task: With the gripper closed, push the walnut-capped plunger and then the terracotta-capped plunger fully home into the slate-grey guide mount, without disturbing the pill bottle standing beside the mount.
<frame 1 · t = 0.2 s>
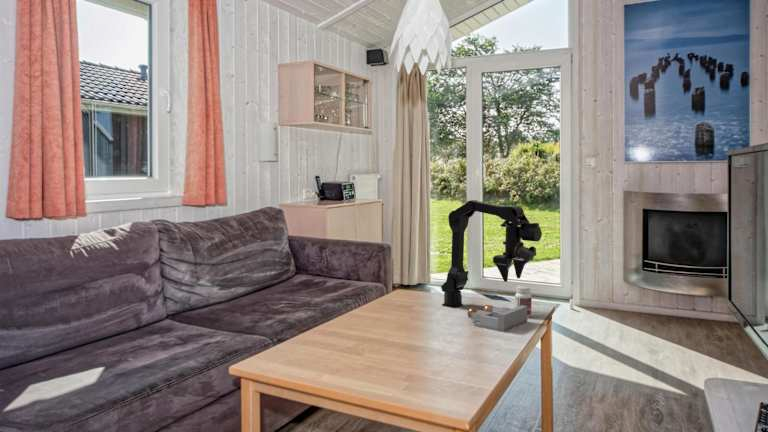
hand: (512, 279, 213), 14 cm above the table, fingers open, 9 cm apart
knob far: (495, 311, 210), point 3 cm above the table, slide at 4.0 cm
pill bottle: (522, 316, 216), on the table
knob near: (479, 314, 206), point 3 cm above the table, slide at 6.0 cm
mount: (500, 324, 205), on the table
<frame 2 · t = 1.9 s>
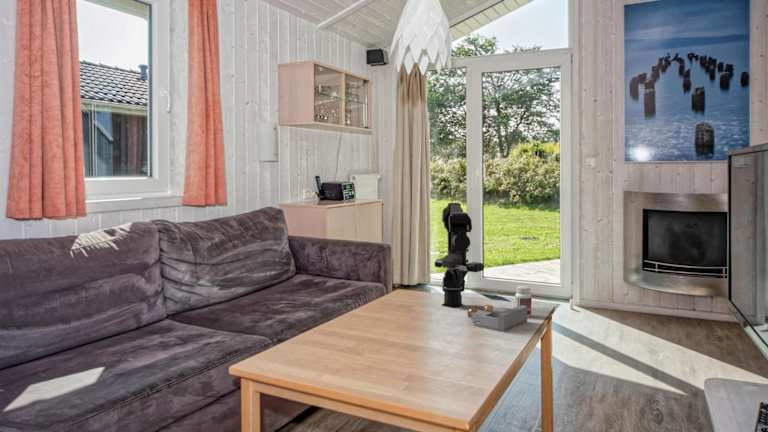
hand: (458, 287, 211), 12 cm above the table, fingers closed
nothing on the table moved.
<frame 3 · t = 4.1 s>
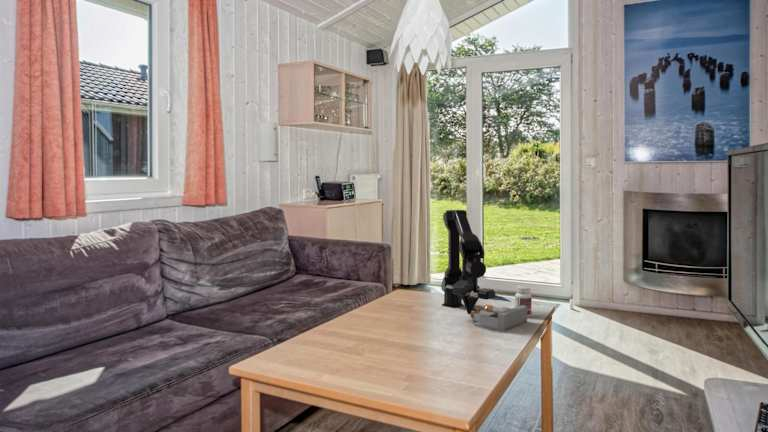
hand: (469, 314, 209), 3 cm above the table, fingers closed
knob near: (482, 315, 205), point 3 cm above the table, slide at 4.8 cm, touching gripper
everything else where it was.
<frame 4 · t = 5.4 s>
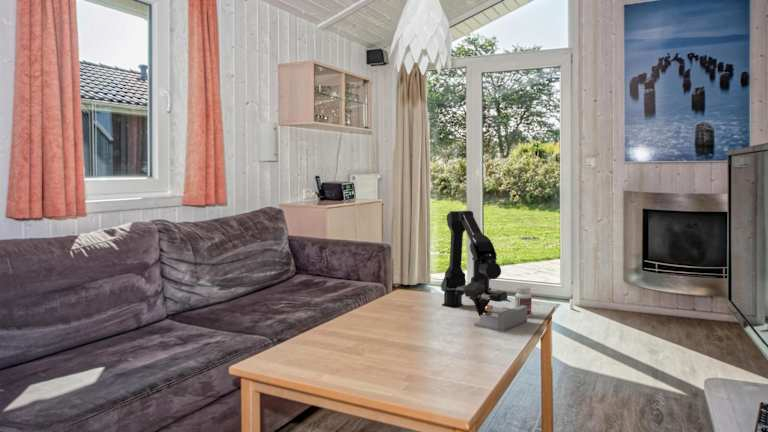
hand: (480, 316, 205), 3 cm above the table, fingers closed
knob near: (494, 317, 202), point 3 cm above the table, slide at 0.0 cm, touching gripper
everything else where it was.
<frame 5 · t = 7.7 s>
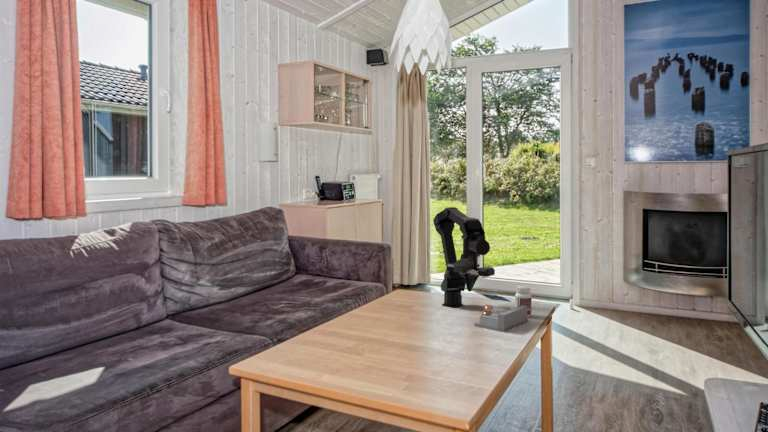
hand: (469, 291, 218), 9 cm above the table, fingers closed
knob near: (494, 317, 202), point 3 cm above the table, slide at 0.0 cm
everything else where it was.
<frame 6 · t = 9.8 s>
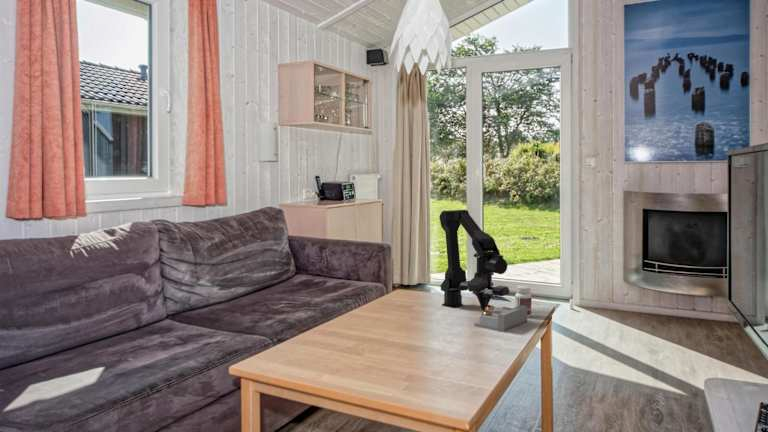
hand: (483, 310, 214), 3 cm above the table, fingers closed
knob far: (496, 311, 210), point 3 cm above the table, slide at 3.5 cm, touching gripper
everything else where it was.
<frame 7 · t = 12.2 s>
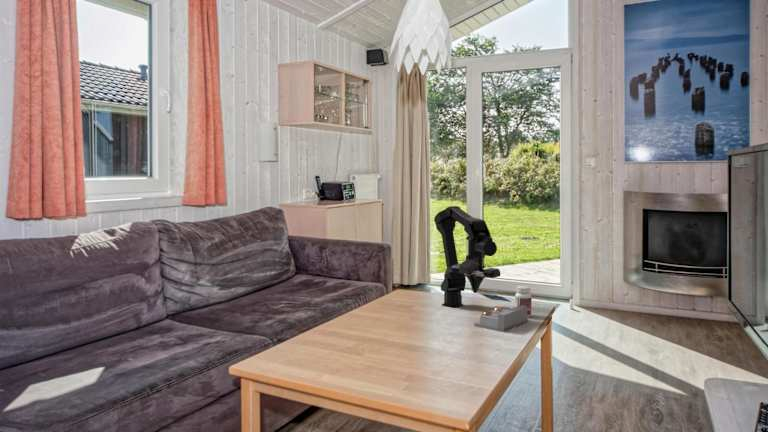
hand: (475, 292, 216), 9 cm above the table, fingers closed
knob far: (505, 313, 208), point 3 cm above the table, slide at 0.0 cm
everything else where it was.
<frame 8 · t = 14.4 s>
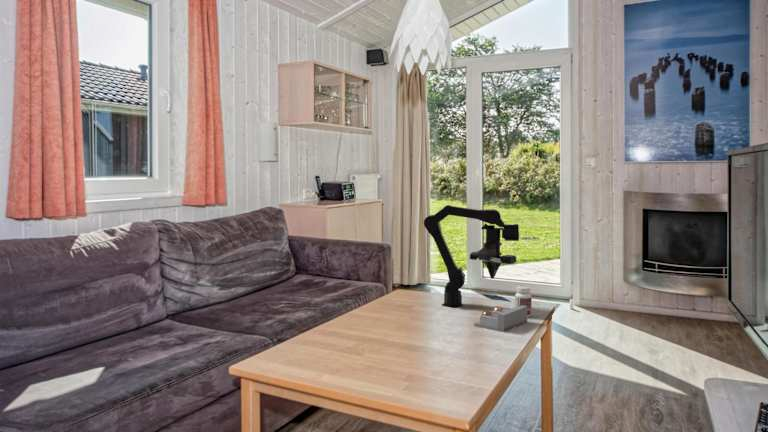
hand: (492, 278, 229), 12 cm above the table, fingers closed
nothing on the table moved.
at the end: knob near slide at 0.0 cm; knob far slide at 0.0 cm; pill bottle tilted 0° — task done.
